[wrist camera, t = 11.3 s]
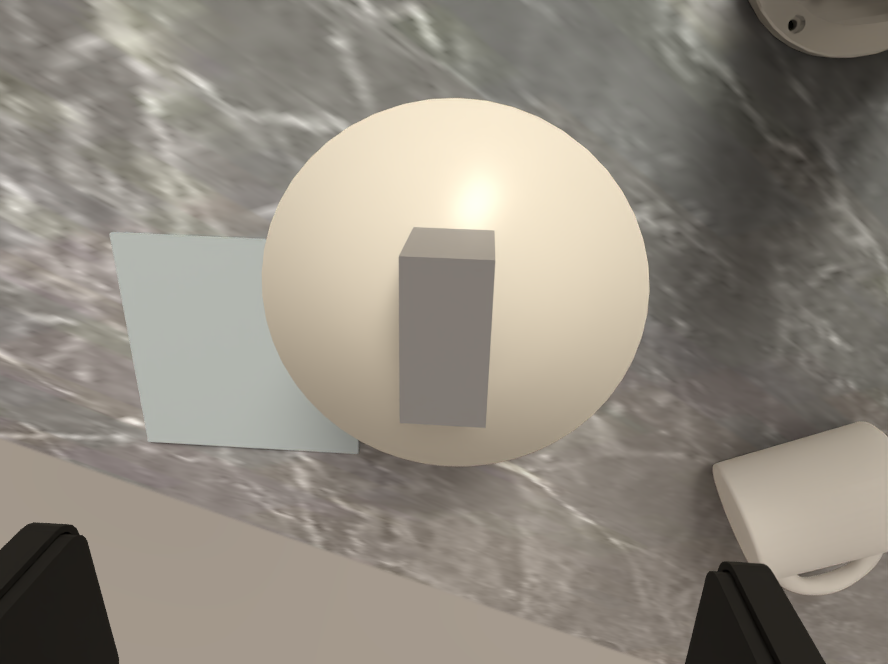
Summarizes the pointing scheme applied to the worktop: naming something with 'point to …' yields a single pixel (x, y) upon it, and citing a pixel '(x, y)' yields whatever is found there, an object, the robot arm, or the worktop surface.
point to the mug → (811, 506)
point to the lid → (455, 282)
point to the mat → (211, 347)
